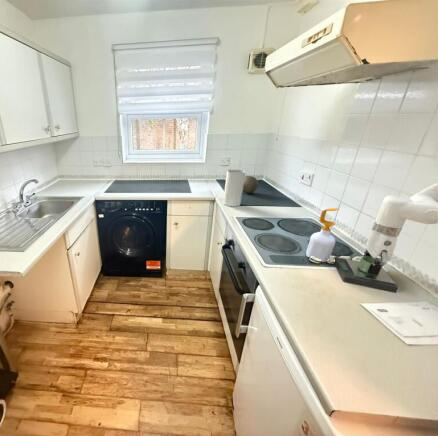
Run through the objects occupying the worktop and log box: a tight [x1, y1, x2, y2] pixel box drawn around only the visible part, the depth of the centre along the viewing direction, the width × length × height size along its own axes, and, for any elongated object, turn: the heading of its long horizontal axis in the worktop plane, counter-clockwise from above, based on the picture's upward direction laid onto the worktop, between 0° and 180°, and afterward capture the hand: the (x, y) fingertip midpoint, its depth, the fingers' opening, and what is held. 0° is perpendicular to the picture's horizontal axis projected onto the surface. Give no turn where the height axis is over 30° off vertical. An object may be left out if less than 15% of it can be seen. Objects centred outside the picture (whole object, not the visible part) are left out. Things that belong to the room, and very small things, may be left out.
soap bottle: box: [305, 207, 339, 263], centre depth 106 cm, size 9×9×25 cm
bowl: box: [358, 255, 383, 273], centre depth 95 cm, size 6×6×5 cm
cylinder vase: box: [222, 169, 246, 208], centre depth 175 cm, size 12×12×25 cm
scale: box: [333, 256, 399, 294], centre depth 97 cm, size 16×16×3 cm
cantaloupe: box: [242, 175, 259, 195], centre depth 202 cm, size 14×14×15 cm
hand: (369, 268), depth 96 cm, fingers closed on bowl, 6 cm apart
